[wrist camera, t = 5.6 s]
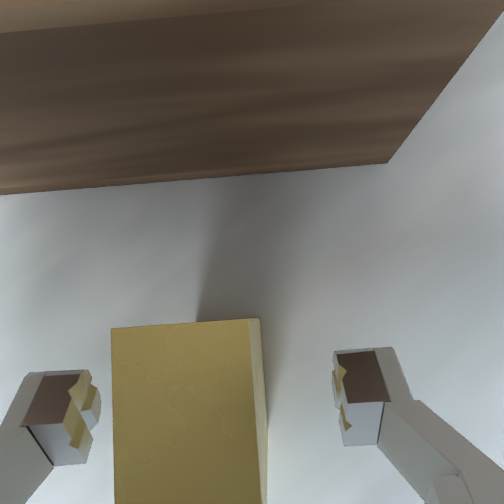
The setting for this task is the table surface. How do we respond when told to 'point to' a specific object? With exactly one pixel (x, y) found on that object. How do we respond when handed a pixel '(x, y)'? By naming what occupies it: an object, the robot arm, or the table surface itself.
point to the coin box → (218, 85)
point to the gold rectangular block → (189, 413)
